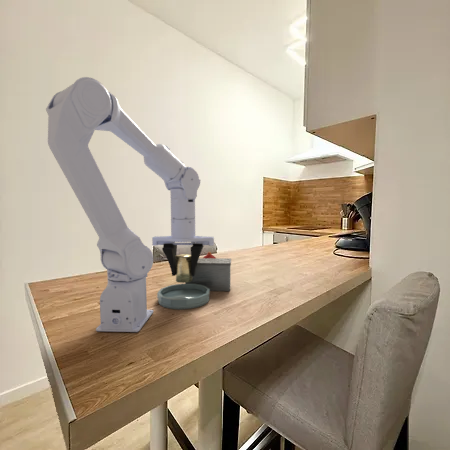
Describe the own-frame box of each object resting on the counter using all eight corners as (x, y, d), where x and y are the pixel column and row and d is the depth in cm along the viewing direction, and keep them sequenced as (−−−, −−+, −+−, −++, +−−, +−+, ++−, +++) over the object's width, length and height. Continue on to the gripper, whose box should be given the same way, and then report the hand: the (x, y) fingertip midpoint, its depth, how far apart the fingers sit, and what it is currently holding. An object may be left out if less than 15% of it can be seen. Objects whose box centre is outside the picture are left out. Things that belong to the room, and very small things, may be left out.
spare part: (194, 278, 69) (193, 254, 68) (190, 282, 65) (189, 257, 64) (178, 277, 69) (178, 254, 69) (173, 282, 65) (173, 257, 65)
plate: (206, 309, 61) (206, 300, 60) (151, 309, 61) (151, 299, 61) (211, 292, 73) (211, 283, 73) (165, 291, 73) (165, 283, 73)
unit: (230, 291, 73) (230, 263, 73) (184, 290, 74) (184, 262, 73) (231, 284, 80) (231, 258, 79) (188, 283, 80) (188, 258, 80)
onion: (198, 274, 90) (198, 250, 90) (215, 273, 92) (215, 249, 92) (203, 279, 85) (203, 253, 84) (220, 277, 87) (220, 252, 86)
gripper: (214, 217, 69) (215, 270, 70) (157, 217, 70) (158, 270, 71) (212, 219, 62) (212, 278, 63) (148, 219, 63) (150, 277, 64)
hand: (183, 274), depth 67 cm, fingers closed on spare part, 4 cm apart
